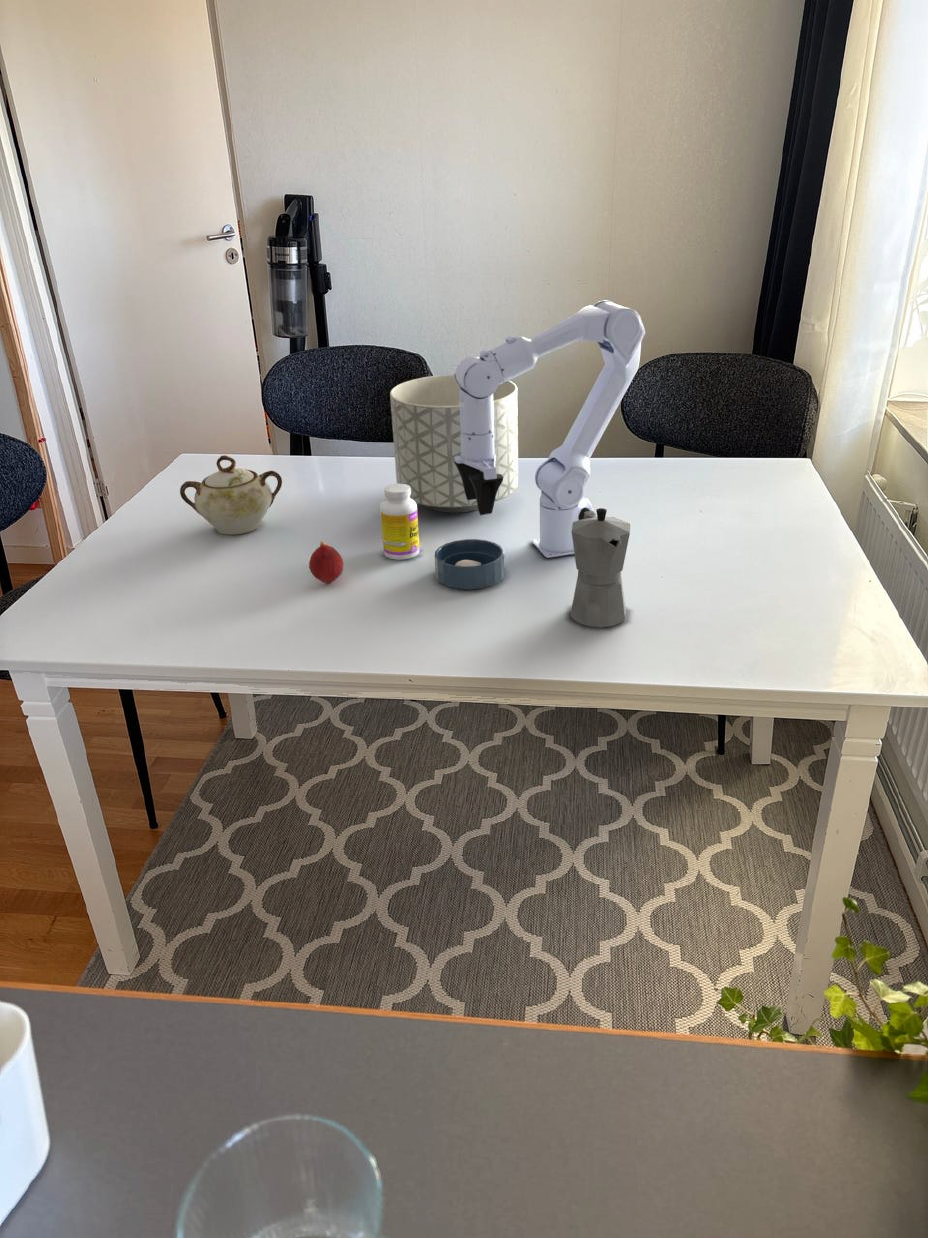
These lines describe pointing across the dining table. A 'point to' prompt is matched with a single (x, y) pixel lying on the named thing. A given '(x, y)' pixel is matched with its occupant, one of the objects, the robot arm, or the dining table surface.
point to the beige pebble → (467, 563)
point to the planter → (447, 441)
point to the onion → (326, 563)
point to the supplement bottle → (399, 523)
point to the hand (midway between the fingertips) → (479, 506)
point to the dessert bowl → (469, 575)
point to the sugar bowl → (233, 498)
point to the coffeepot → (599, 568)
